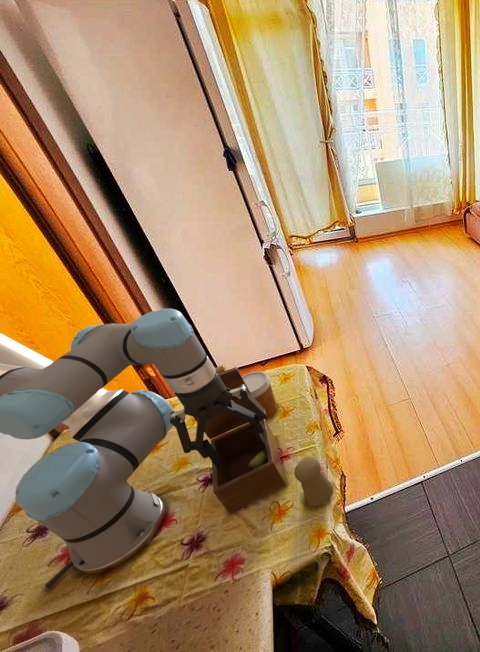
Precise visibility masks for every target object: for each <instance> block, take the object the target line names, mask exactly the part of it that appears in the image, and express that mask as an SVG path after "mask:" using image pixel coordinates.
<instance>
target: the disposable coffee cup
mask: <svg viewBox="0 0 480 652" xmlns="http://www.w3.org/2000/svg"><path fill="white" fill-rule="evenodd" d="M241 376H242V378H243V380H244V381H245V383H246V385H247V387H248V389H249V390H250V392H251V394H252V396H253V398H254V399H255V400H256V401H257V402H258V403H259V404H260V405H261V406H262V407H263V408H264V409H265V411H266V415H267V418H266V419H265V420H266V421H267V420H269V419H270V418H272V417H273V416H274V415H275V414H276V413H277V411H278V405H277V401H276V398H275V395H274V392H273V388H272V384H271V382H272V381H271V377H270V375H268V374H266V372H263V371H251V372H249V373H246V374H244V375H241Z"/></svg>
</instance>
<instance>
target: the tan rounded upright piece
mask: <svg viewBox="0 0 480 652" xmlns="http://www.w3.org/2000/svg"><path fill="white" fill-rule="evenodd" d="M321 469H322V467H321V462H320V461H319V459H317V458H316V457H314V456H307V457H303V458H302V459H301V460H300V461H299V462H297V464H296V465H295V467H294V477H295V479H296V480H297V481H299V482H300V484H301V487H302V491H303V495H304V498H305V502H306V503H307V505H309V506H310V507H319V506H320V507H321V506H322V505H324V504H325V503H327V502H328V501H329V500H330V499H331V497H332V495H333V492H334V485H333V484H332V483H331V481H330V480H329V479H328V478H327V476H326V475H325V473H324V472H323V471H322V470H321Z"/></svg>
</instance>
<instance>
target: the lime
mask: <svg viewBox="0 0 480 652" xmlns="http://www.w3.org/2000/svg"><path fill="white" fill-rule="evenodd" d="M267 462H268V457H267V452H266V449H264V450H262V451H261V452H260V453H259V454H258V455H257V456H255V457H254V458H253V459H252V460H251V461H250V462H249V463H248V465H247V466H248V467H249V468H251V469H255V468H257V467H259V466H261V465H263V464H265V463H267Z"/></svg>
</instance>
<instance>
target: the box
mask: <svg viewBox="0 0 480 652" xmlns="http://www.w3.org/2000/svg"><path fill="white" fill-rule="evenodd" d="M261 423H262V424H263V427H264V432H262V435H263V437H264V442H265V445H263V446H261V445H260V443H259V441H258V439H257V438H256V436H255V434H254V433H253V431H252V429H251V425H250V423H246V424H244V425H242V426H240V427H237V428H235V429H233V430H231V431H228V432H226V433H224V434H221V435H219V436H217V437H215V438H212V439H210V444H211V445H212V447H213V448H214V449H215V451H216V452H217V454H218V455H219V456H220V466H219V467H216V466H215V465H214V463H213V462H212V461H211V474H212V475H211V477H212V493H213V494H214V496H215V497H216V498H217V500H218V501H219V502H220V503H221V505H222V506H223V507H224V509H225V510H226V511H227V512H228V514H229V515H233V514H235V513H237V512H238V511H240V510H242V509H245V508H246V507H248V506H250V505H252V504H254V503H255V502H257V501H259V500H261V499H264V498H265V497H268V496H269V495H270V494H273V493H274V492H277V491H278V490H280V489H282V488H284V487H285V486H287V481H286V478H285V473H284V469H283V465H282V461H281V456H280V452H279V447H278V444H277V439H276V436H275V435H274V433H273V431H272V429H271V427H270V426H269V424H268V422H267V419H266V420H265V419H262V420H261ZM264 449H266V452H267V457H268V462H267V463H265V464H263V465H261V466H259V467H257V468H255V469H251V468H249V467H248V466H247V465H248V463H249V462H250V461H251V460H252V459H253V458H254V457H255V456H257V455H258V454H259V453H260V452H261V451H262V450H264Z"/></svg>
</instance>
